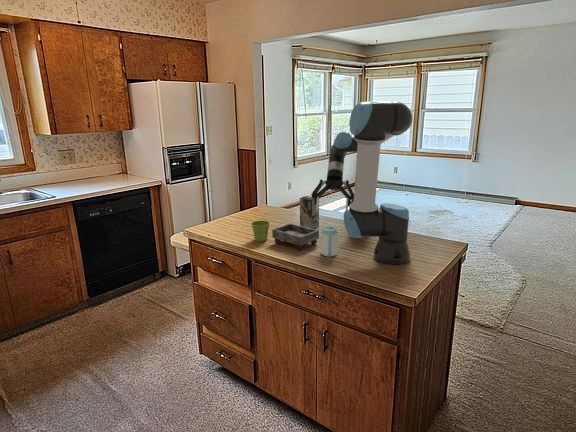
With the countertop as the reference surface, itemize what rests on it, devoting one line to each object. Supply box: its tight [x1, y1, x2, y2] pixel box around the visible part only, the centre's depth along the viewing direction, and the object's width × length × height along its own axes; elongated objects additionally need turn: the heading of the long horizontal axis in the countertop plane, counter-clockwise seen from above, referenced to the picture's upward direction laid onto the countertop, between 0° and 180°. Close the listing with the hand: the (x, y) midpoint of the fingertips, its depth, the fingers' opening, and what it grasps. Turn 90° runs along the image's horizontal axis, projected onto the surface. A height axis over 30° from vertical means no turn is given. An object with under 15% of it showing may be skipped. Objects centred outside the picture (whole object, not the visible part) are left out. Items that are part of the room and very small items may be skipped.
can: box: [320, 226, 338, 258], centre depth 165 cm, size 7×7×12 cm
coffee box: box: [299, 195, 320, 229], centre depth 204 cm, size 9×6×16 cm
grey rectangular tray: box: [271, 222, 320, 252], centre depth 179 cm, size 18×13×7 cm
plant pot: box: [250, 219, 271, 243], centre depth 185 cm, size 9×9×9 cm
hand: (331, 211), depth 173 cm, fingers open, 13 cm apart
